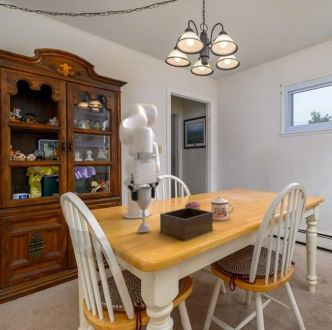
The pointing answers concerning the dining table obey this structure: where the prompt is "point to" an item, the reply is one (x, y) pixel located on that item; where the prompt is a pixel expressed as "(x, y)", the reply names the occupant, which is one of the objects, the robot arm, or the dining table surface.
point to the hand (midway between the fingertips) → (143, 198)
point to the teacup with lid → (220, 209)
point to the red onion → (193, 204)
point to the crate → (186, 223)
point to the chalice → (143, 205)
